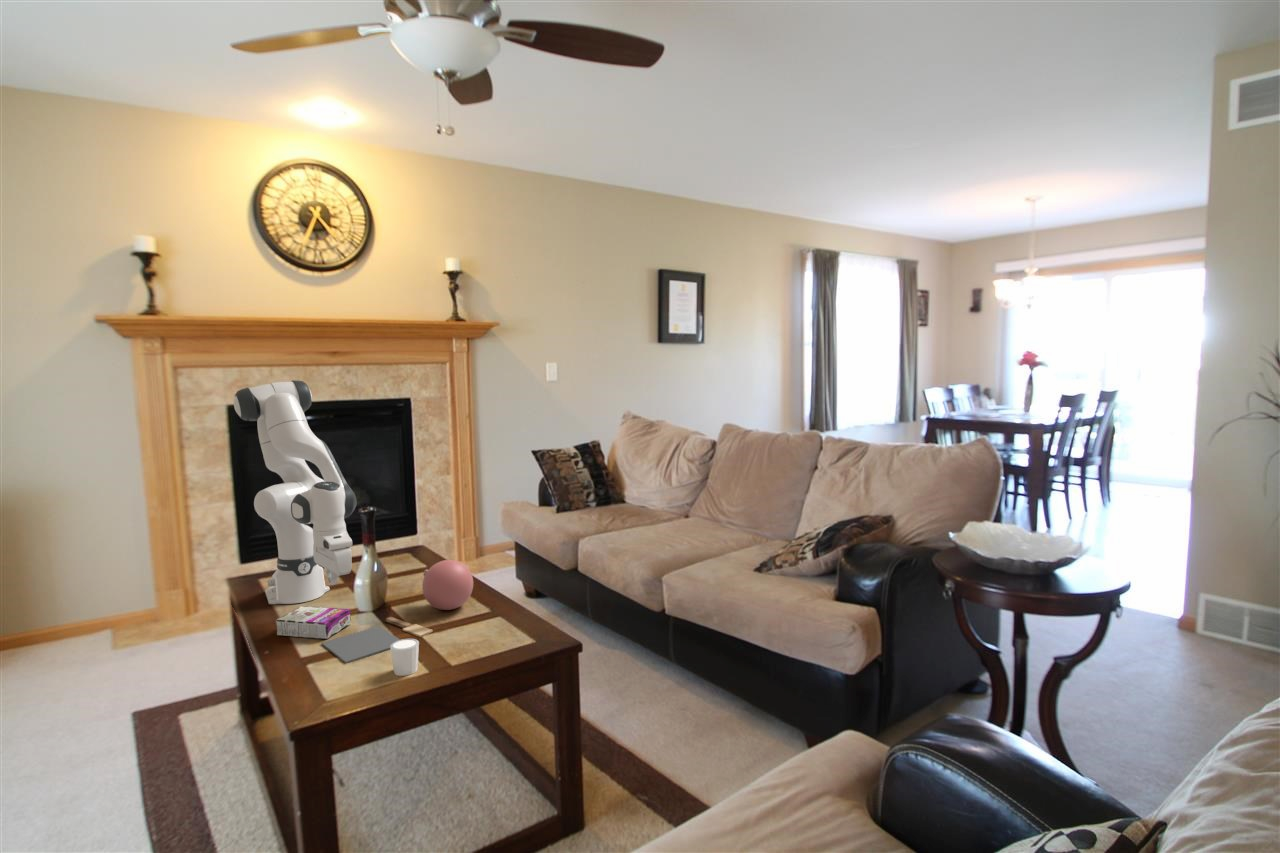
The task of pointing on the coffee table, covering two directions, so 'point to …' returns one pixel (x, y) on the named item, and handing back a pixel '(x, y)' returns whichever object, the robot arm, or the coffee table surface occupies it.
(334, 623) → the candy bar box
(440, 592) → the rose rubber ball
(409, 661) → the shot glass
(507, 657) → the coffee table surface
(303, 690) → the coffee table surface
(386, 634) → the mat
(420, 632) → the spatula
